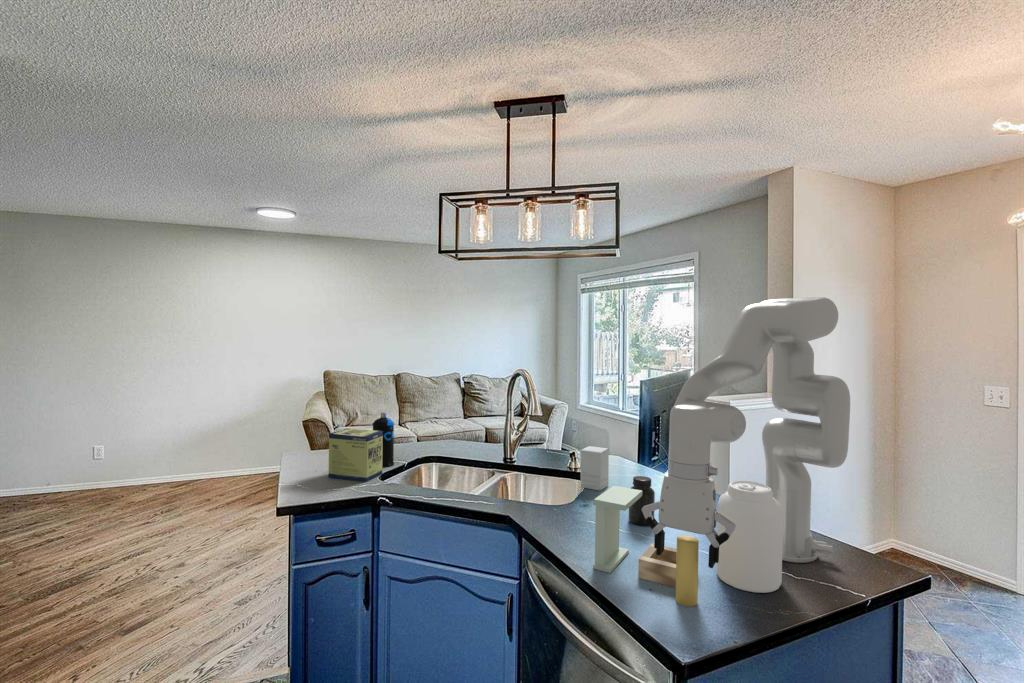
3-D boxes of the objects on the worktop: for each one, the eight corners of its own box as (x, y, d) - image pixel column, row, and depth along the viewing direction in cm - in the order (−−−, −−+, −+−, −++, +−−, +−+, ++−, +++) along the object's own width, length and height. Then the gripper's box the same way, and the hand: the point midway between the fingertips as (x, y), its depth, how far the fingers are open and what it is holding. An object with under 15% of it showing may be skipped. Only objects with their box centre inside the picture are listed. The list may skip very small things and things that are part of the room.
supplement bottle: (655, 527, 137) (655, 482, 137) (628, 525, 138) (629, 480, 138) (653, 518, 144) (654, 475, 143) (628, 516, 145) (628, 473, 145)
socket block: (695, 571, 112) (695, 553, 112) (685, 590, 104) (685, 570, 104) (651, 560, 117) (651, 543, 117) (638, 577, 109) (638, 558, 109)
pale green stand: (641, 555, 120) (642, 490, 119) (623, 576, 109) (625, 505, 109) (612, 548, 123) (613, 485, 123) (592, 568, 113) (594, 499, 113)
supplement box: (609, 485, 174) (609, 448, 173) (600, 491, 167) (601, 452, 167) (588, 482, 178) (589, 445, 177) (579, 487, 171) (580, 449, 171)
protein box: (367, 482, 174) (367, 436, 174) (327, 478, 179) (327, 433, 178) (383, 474, 184) (383, 430, 184) (345, 470, 189) (345, 427, 188)
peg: (699, 599, 100) (700, 538, 100) (695, 608, 97) (696, 545, 97) (678, 593, 102) (679, 533, 102) (673, 602, 99) (674, 540, 99)
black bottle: (368, 466, 193) (368, 413, 193) (377, 461, 201) (377, 410, 201) (389, 468, 192) (389, 414, 191) (397, 462, 200) (397, 411, 200)
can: (750, 599, 101) (752, 497, 100) (703, 571, 112) (705, 480, 112) (795, 587, 106) (797, 490, 105) (745, 562, 117) (747, 474, 117)
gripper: (740, 473, 98) (737, 563, 98) (649, 459, 107) (646, 542, 107) (734, 482, 91) (730, 578, 92) (638, 466, 100) (635, 554, 100)
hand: (685, 559), depth 99 cm, fingers open, 9 cm apart
